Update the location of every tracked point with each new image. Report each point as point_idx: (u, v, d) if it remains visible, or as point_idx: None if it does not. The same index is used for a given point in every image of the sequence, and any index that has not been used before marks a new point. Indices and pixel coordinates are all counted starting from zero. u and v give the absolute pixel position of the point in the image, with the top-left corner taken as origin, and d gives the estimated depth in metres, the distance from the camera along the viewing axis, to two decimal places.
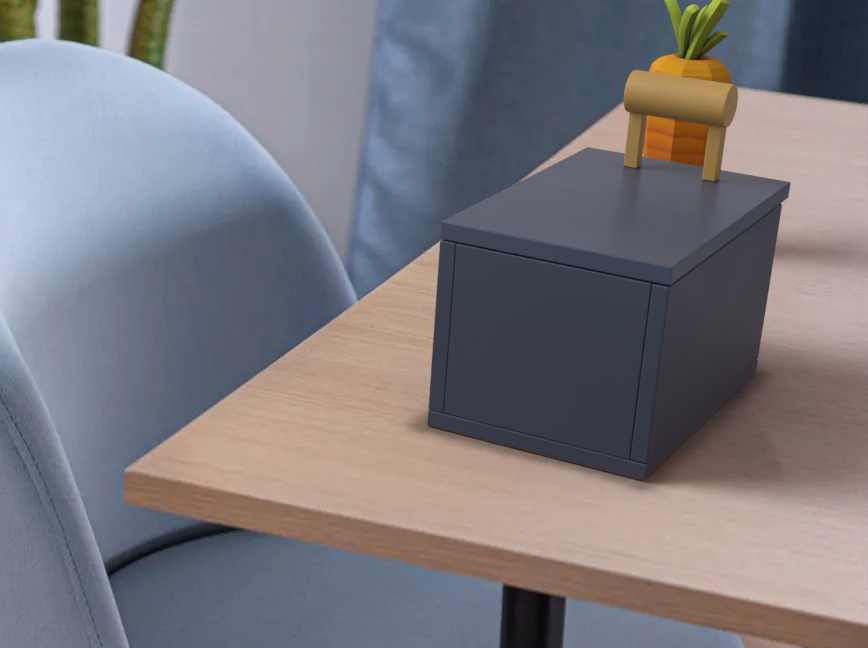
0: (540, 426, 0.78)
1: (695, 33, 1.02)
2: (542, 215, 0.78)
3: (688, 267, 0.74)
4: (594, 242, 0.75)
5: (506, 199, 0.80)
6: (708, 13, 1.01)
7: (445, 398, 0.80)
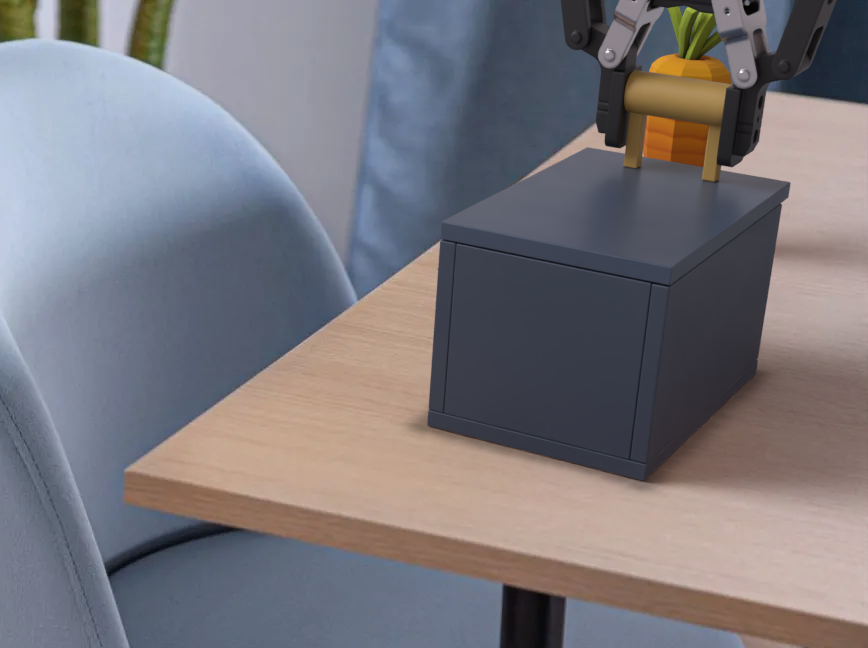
0: (540, 426, 0.78)
1: (695, 33, 1.02)
2: (542, 215, 0.78)
3: (688, 267, 0.74)
4: (594, 242, 0.75)
5: (506, 199, 0.80)
6: (708, 13, 1.01)
7: (445, 398, 0.80)
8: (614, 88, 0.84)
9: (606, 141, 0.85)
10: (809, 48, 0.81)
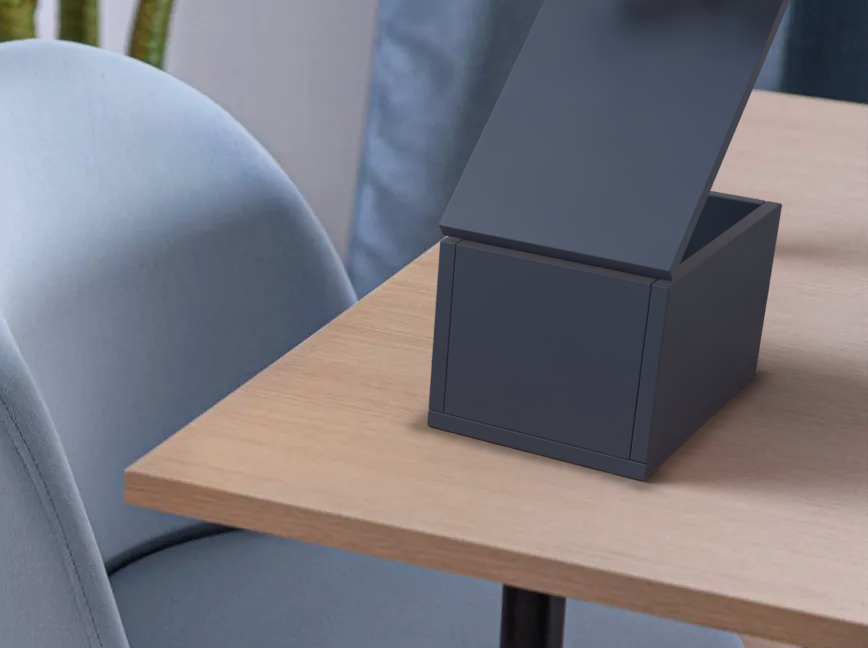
0: (540, 426, 0.78)
1: None
2: (536, 168, 0.76)
3: (689, 236, 0.73)
4: (591, 229, 0.74)
5: (497, 138, 0.77)
6: None
7: (445, 398, 0.80)
8: None
9: None
10: None
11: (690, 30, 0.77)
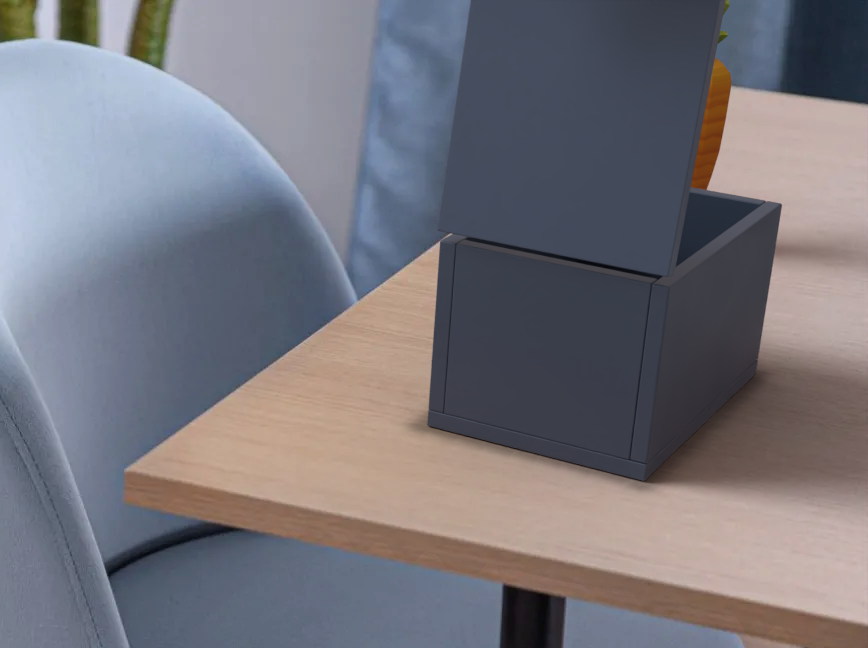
0: (540, 426, 0.78)
1: None
2: (516, 156, 0.74)
3: (681, 225, 0.72)
4: (583, 229, 0.73)
5: (471, 119, 0.75)
6: None
7: (445, 398, 0.80)
8: None
9: None
10: None
11: None
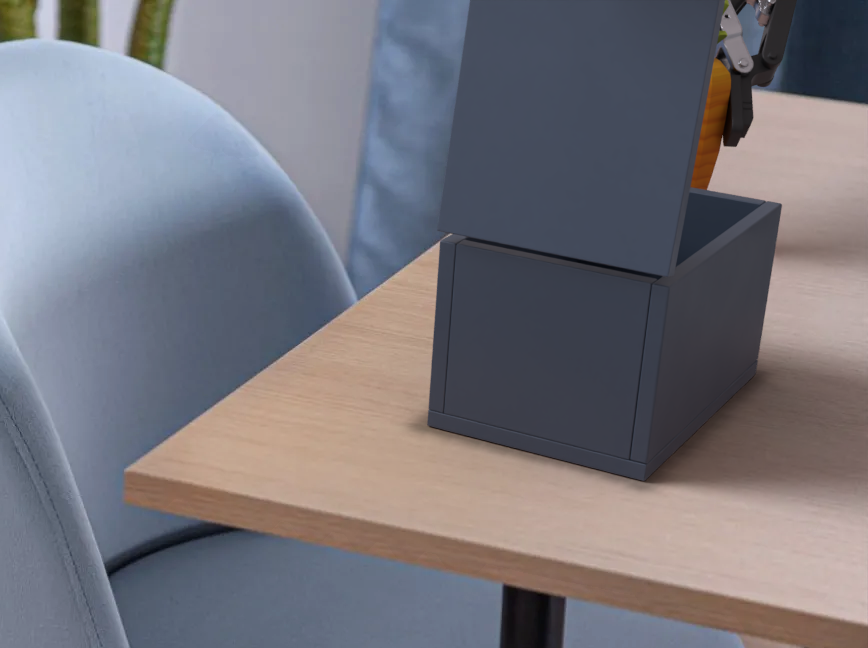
0: (540, 426, 0.78)
1: None
2: (516, 156, 0.74)
3: (681, 225, 0.72)
4: (583, 229, 0.73)
5: (470, 119, 0.75)
6: None
7: (445, 398, 0.80)
8: None
9: None
10: None
11: None
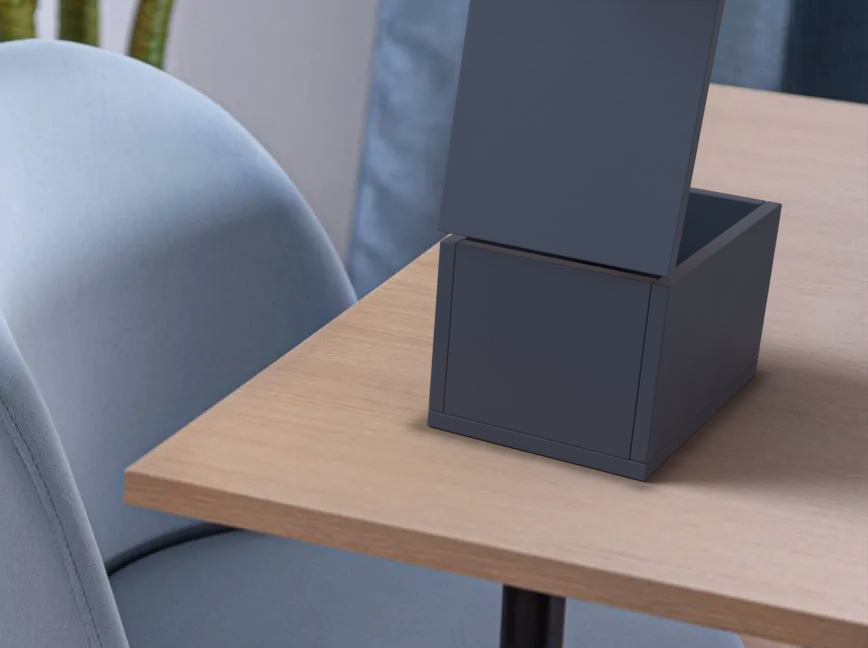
0: (540, 426, 0.78)
1: None
2: (516, 156, 0.74)
3: (681, 225, 0.72)
4: (583, 229, 0.73)
5: (470, 119, 0.75)
6: None
7: (445, 398, 0.80)
8: None
9: None
10: None
11: None
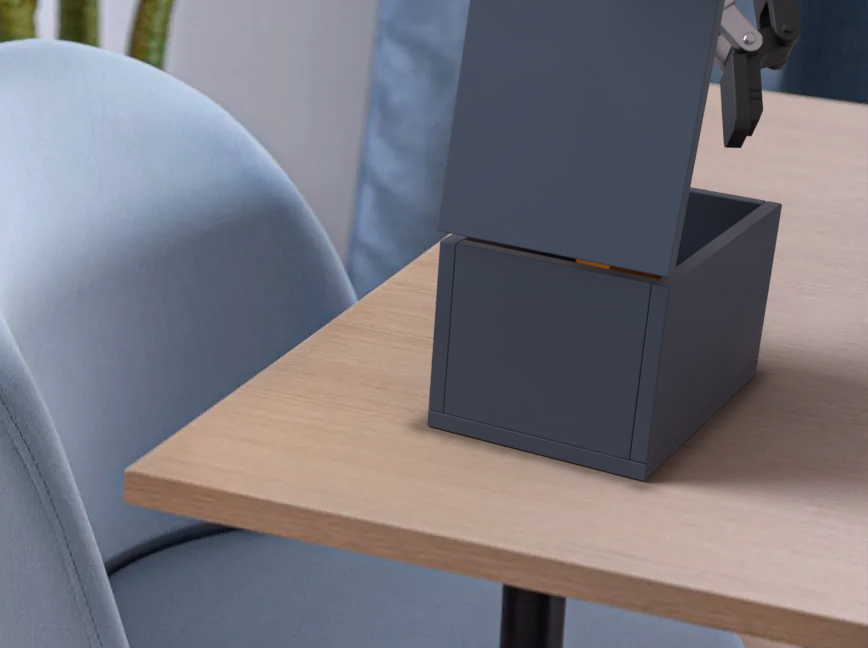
0: (540, 426, 0.78)
1: None
2: (516, 156, 0.74)
3: (681, 225, 0.72)
4: (583, 229, 0.73)
5: (470, 119, 0.75)
6: None
7: (445, 398, 0.80)
8: None
9: None
10: None
11: None
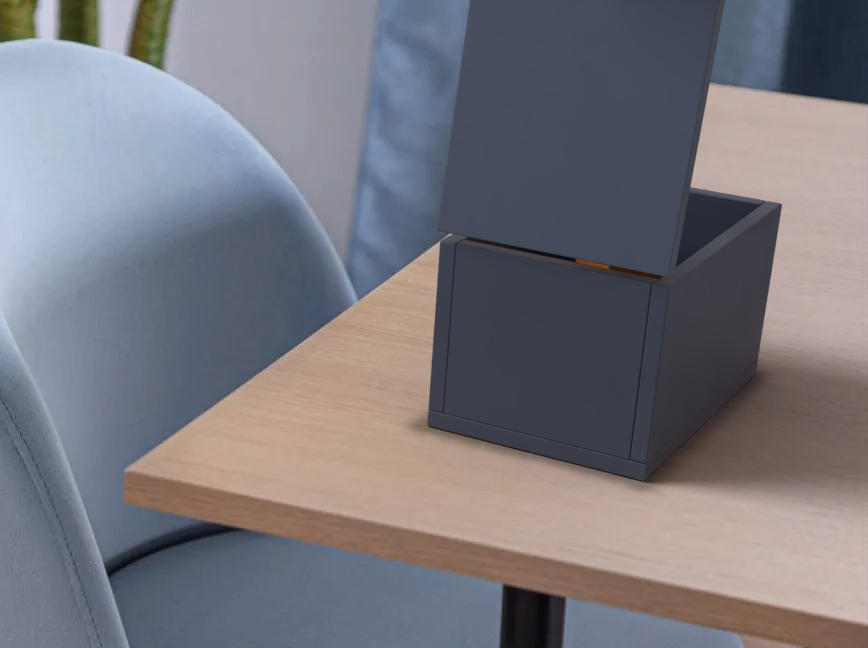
0: (540, 426, 0.78)
1: None
2: (516, 156, 0.74)
3: (681, 225, 0.72)
4: (583, 229, 0.73)
5: (470, 119, 0.75)
6: None
7: (445, 398, 0.80)
8: None
9: None
10: None
11: None
